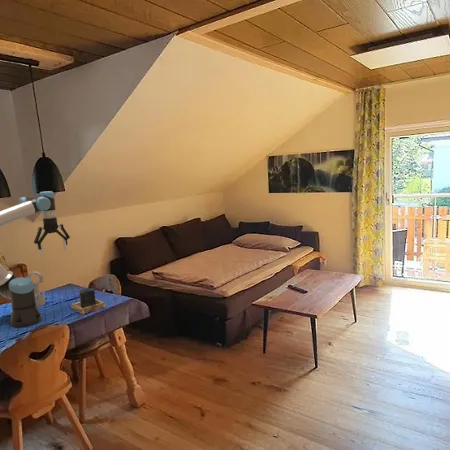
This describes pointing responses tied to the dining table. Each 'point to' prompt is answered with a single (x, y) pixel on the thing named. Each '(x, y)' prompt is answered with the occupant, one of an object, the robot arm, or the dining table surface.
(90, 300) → the box
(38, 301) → the engine component
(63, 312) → the dining table surface
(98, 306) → the socket tray
